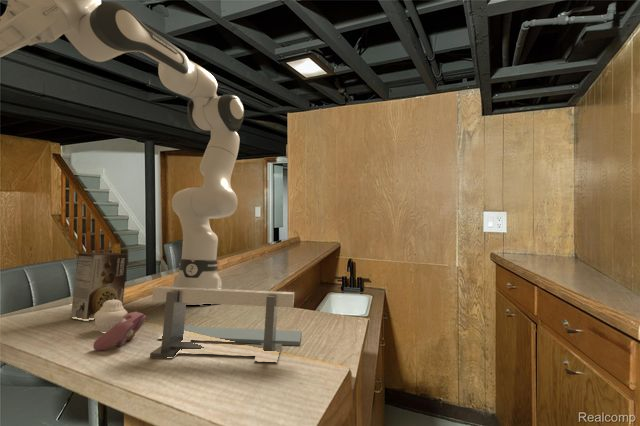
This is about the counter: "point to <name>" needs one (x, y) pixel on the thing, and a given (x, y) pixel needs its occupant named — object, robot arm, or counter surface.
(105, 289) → the coffee box
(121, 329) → the video game controller
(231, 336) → the slate mat
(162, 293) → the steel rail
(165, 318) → the rail rack
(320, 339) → the counter surface
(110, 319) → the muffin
